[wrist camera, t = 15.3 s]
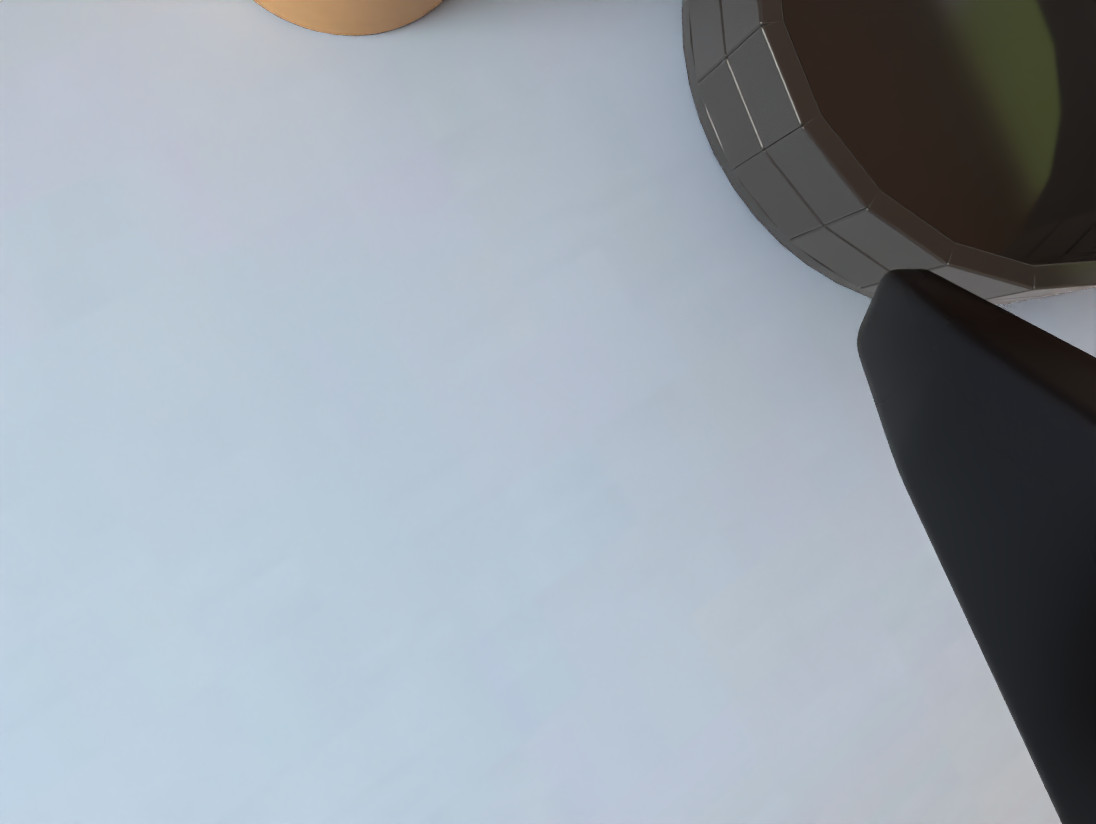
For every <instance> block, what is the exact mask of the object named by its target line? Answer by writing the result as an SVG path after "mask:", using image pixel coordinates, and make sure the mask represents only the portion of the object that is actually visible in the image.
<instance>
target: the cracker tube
mask: <svg viewBox="0 0 1096 824" xmlns="http://www.w3.org/2000/svg"><path fill="white" fill-rule="evenodd" d="M254 1H255V2H256V3H258V4H259V5H260V6H262V7H263V8H265V9H266V10H268V11H270V12H272V13H273V14H275V15H277V16H278V17H280V18H282V19H284V20H287V21H289V22H291V23H294V24H296V25H298V26H301V27H304V28H308V29H311V30H314V31H318V32H324V33H329V34H335V35H353V36H356V35H369V34H376V33H381V32H386V31H390V30H393V29H396V28H399V27H402V26H404V25H407V24H409V23H411V22H413V21H415V20H417V19H419V18H421V17H423V16H424V15H426V14H427V13H428V12H430V11H431V10H432V9H434V8H435V7H437V6H438V5H439V4H440V3H441V2H442V1H443V0H254Z"/></svg>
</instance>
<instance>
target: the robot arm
mask: <svg viewBox="0 0 1096 824" xmlns="http://www.w3.org/2000/svg"><path fill="white" fill-rule="evenodd" d="M857 347H858V353H859V357H860V360H861V363H862V366H863V369H864V372H865V375H866V378H867V381H868V384H869V387H870V390H871V393H872V396H873V399H874V402H875V405H876V408H877V411H878V414H879V417H880V420H881V423H882V426H883V429H884V431H885V434H886V437H887V440H888V443H889V446H890V449H891V452H892V455H893V458H894V460H895V463H896V466H897V468H898V471H899V473H900V476H901V478H902V480H903V483H904V485H905V487H906V489H907V492H908V494H909V496H910V498H911V500H912V502H913V505H914V507H915V509H916V511H917V513H918V515H919V517H920V520H921V522H922V524H923V526H924V528H925V530H926V532H927V535H928V537H929V539H930V541H931V543H932V545H933V547H934V550H935V552H936V554H937V556H938V558H939V560H940V563H941V565H942V567H943V569H944V571H945V573H946V575H947V578H948V580H949V582H950V584H951V586H952V588H953V590H954V593H955V595H956V597H957V599H958V601H959V603H960V605H961V608H962V610H963V612H964V614H965V616H966V618H967V621H968V623H969V625H970V627H971V629H972V631H973V633H974V636H975V638H976V640H977V642H978V644H979V646H980V648H981V651H982V653H983V655H984V657H985V659H986V661H987V663H988V666H989V668H990V670H991V672H992V674H993V676H994V678H995V681H996V683H997V685H998V687H999V689H1000V691H1001V694H1002V696H1003V698H1004V700H1005V702H1006V704H1007V706H1008V709H1009V711H1010V713H1011V715H1012V717H1013V719H1014V721H1015V724H1016V726H1017V728H1018V730H1019V732H1020V734H1021V736H1022V739H1023V741H1024V743H1025V745H1026V747H1027V749H1028V752H1029V754H1030V756H1031V758H1032V760H1033V762H1034V764H1035V767H1036V769H1037V771H1038V773H1039V775H1040V777H1041V779H1042V782H1043V784H1044V786H1045V788H1046V790H1047V792H1048V794H1049V797H1050V799H1051V801H1052V803H1053V805H1054V807H1055V809H1056V812H1057V814H1058V816H1059V818H1060V820H1061V822H1062V824H1096V358H1095V357H1093V356H1091V355H1090V354H1088V353H1086V352H1084V351H1082V350H1080V349H1078V348H1076V347H1074V346H1072V345H1071V344H1069V343H1067V342H1065V341H1063V340H1061V339H1059V338H1057V337H1055V336H1053V335H1052V334H1050V333H1048V332H1046V331H1044V330H1042V329H1040V328H1038V327H1036V326H1034V325H1033V324H1031V323H1029V322H1027V321H1025V320H1023V319H1021V318H1019V317H1017V316H1015V315H1013V314H1012V313H1010V312H1008V311H1006V310H1004V309H1002V308H1000V307H998V306H996V305H994V304H993V303H991V302H989V301H987V300H985V299H983V298H981V297H979V296H977V295H975V294H974V293H972V292H970V291H968V290H966V289H964V288H962V287H960V286H958V285H956V284H955V283H953V282H951V281H949V280H947V279H945V278H943V277H941V276H939V275H937V274H935V273H934V272H932V271H929V270H927V269H894V270H891V271H889V272H887V273H886V274H885V275H884V276H883V277H882V278H881V280H880V282H879V284H878V286H877V288H876V291H875V293H874V295H873V298H872V300H871V302H870V305H869V307H868V310H867V312H866V314H865V317H864V319H863V321H862V324H861V326H860V329H859V332H858V338H857Z"/></svg>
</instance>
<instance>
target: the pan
mask: <svg viewBox="0 0 1096 824" xmlns="http://www.w3.org/2000/svg"><path fill="white" fill-rule="evenodd" d="M682 26H683V48H684V54H685V61H686V67H687V73H688V79H689V85H690V88H691V92H692V95H693V99H694V102H695V105H696V109H697V112H698V116H699V119H700V122H701V124H702V127H703V129H704V131H705V134H706V136H707V138H708V141H709V143H710V146H711V148H712V150H713V153H714V155H715V157H716V158H717V160H718V162H719V164H720V165H721V167H722V169H723V171H724V172H725V174H726V176H727V178H728V179H729V181H730V183H731V185H732V186H733V188H734V189H735V191H736V192H737V193H738V195H739V196H740V197H741V199H742V200H743V201H744V203H745V204H746V205H747V207H748V208H749V209H750V211H751V212H752V213H753V215H754V216H755V217H756V218H757V219H758V220H759V221H760V222H761V223H762V225H763V226H764V227H765V228H766V229H767V230H768V231H769V232H770V233H771V234H772V235H773V236H774V237H775V238H776V239H777V240H778V241H779V242H780V243H781V244H782V245H783V246H785V247H786V248H787V249H788V250H790V251H791V252H792V253H793V254H794V255H796V256H797V257H798V258H799V259H801V260H802V261H803V262H804V263H806V264H807V265H808V266H810V267H812V268H813V269H815V270H817V271H818V272H820V273H821V274H823V275H825V276H826V277H828V278H829V279H831V280H833V281H834V282H836V283H838V284H840V285H842V286H845V287H847V288H849V289H851V290H854V291H856V292H858V293H860V294H863V295H865V296H867V297H871V298H873V295H874V293H875V291H876V288H877V286H878V284H879V282H880V280H881V278H882V277H883V276H884V275H885V274H886V273H887V272H889V271H891V270H894V269H927V270H929V271H932V272H934V273H935V274H937V275H939V276H941V277H943V278H945V279H947V280H949V281H951V282H953V283H955V284H956V285H958V286H960V287H962V288H964V289H966V290H968V291H970V292H972V293H974V294H975V295H977V296H979V297H981V298H983V299H985V300H987V301H989V302H991V303H993V304H994V305H1000V304H1010V303H1016V302H1021V301H1026V300H1032V299H1037V298H1042V297H1048V296H1053V295H1056V294H1064V293H1069V292H1074V291H1079V290H1085V289H1090V288H1095V287H1096V0H683V2H682Z"/></svg>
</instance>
